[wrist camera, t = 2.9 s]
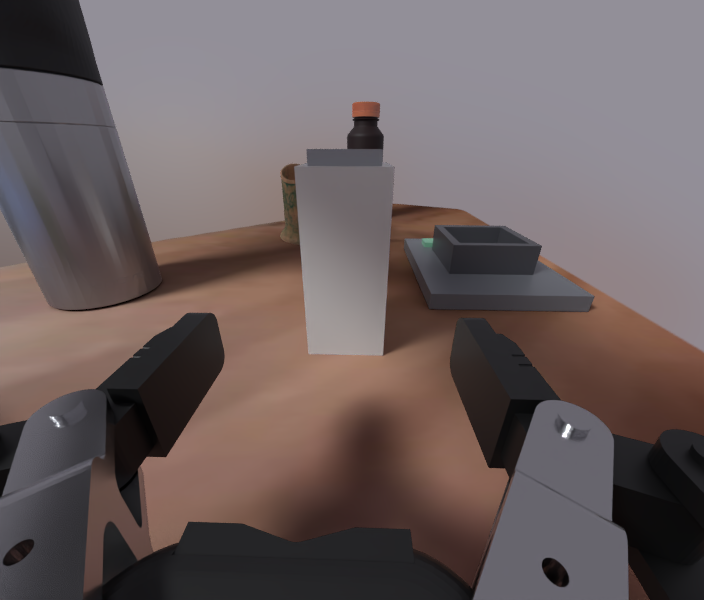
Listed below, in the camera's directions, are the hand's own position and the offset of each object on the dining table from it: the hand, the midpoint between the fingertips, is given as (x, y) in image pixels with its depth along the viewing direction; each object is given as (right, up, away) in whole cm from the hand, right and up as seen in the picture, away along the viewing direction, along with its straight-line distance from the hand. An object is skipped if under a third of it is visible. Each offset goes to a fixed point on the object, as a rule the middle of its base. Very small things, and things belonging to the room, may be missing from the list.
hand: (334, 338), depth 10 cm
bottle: (+3, +18, +53) cm, 56 cm away
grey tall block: (0, -1, +13) cm, 13 cm away
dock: (+15, +4, +25) cm, 29 cm away
